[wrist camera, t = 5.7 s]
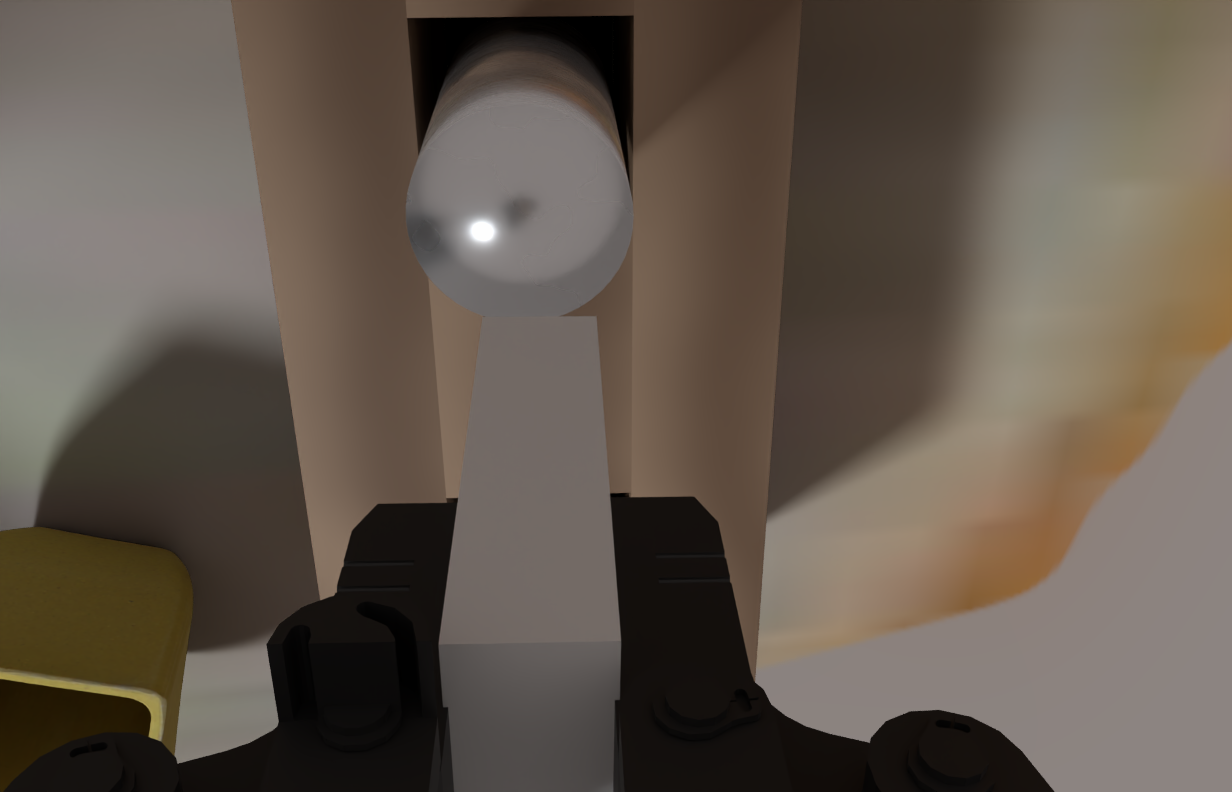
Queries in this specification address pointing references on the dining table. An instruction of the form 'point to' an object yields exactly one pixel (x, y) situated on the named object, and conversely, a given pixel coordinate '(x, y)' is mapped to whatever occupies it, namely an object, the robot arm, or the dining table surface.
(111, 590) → the flower pot
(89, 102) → the dining table surface
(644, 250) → the tan grooved block
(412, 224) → the peg
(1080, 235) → the dining table surface
